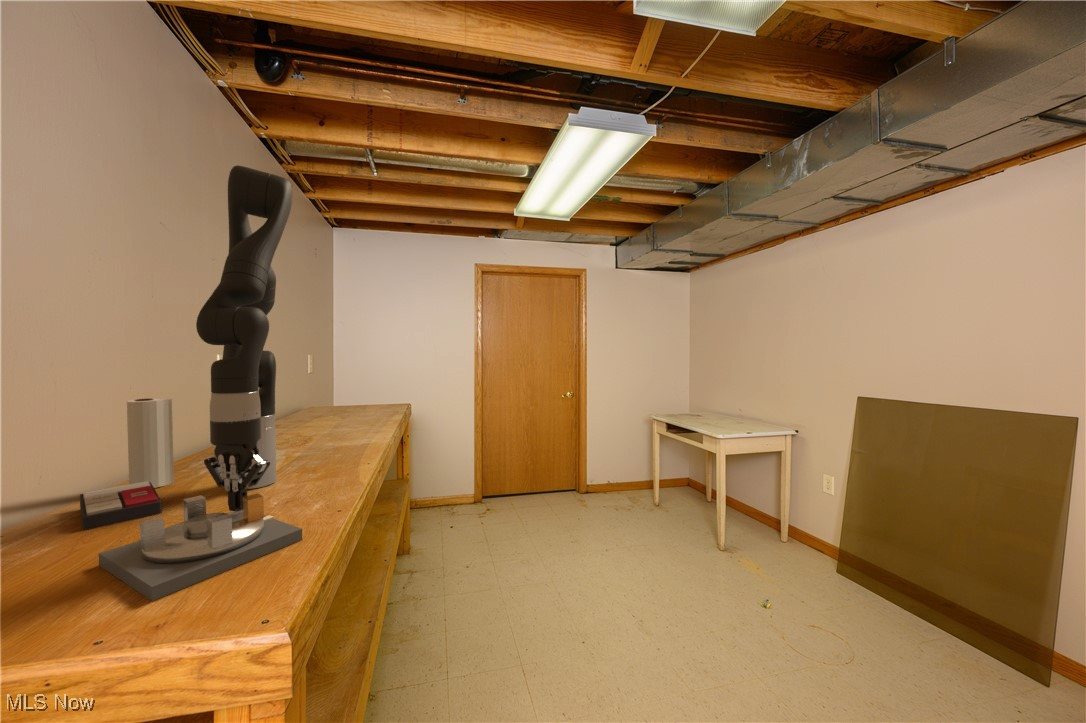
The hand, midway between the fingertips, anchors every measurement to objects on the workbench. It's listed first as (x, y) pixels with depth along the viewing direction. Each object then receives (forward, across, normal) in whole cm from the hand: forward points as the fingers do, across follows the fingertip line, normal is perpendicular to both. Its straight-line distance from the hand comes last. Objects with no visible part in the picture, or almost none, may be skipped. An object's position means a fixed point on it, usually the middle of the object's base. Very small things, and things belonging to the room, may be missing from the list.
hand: (237, 509), depth 78 cm
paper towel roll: (+5, +44, -15) cm, 46 cm away
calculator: (+5, +33, -2) cm, 33 cm away
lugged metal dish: (+2, -1, +7) cm, 7 cm away
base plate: (+4, -1, +7) cm, 8 cm away
